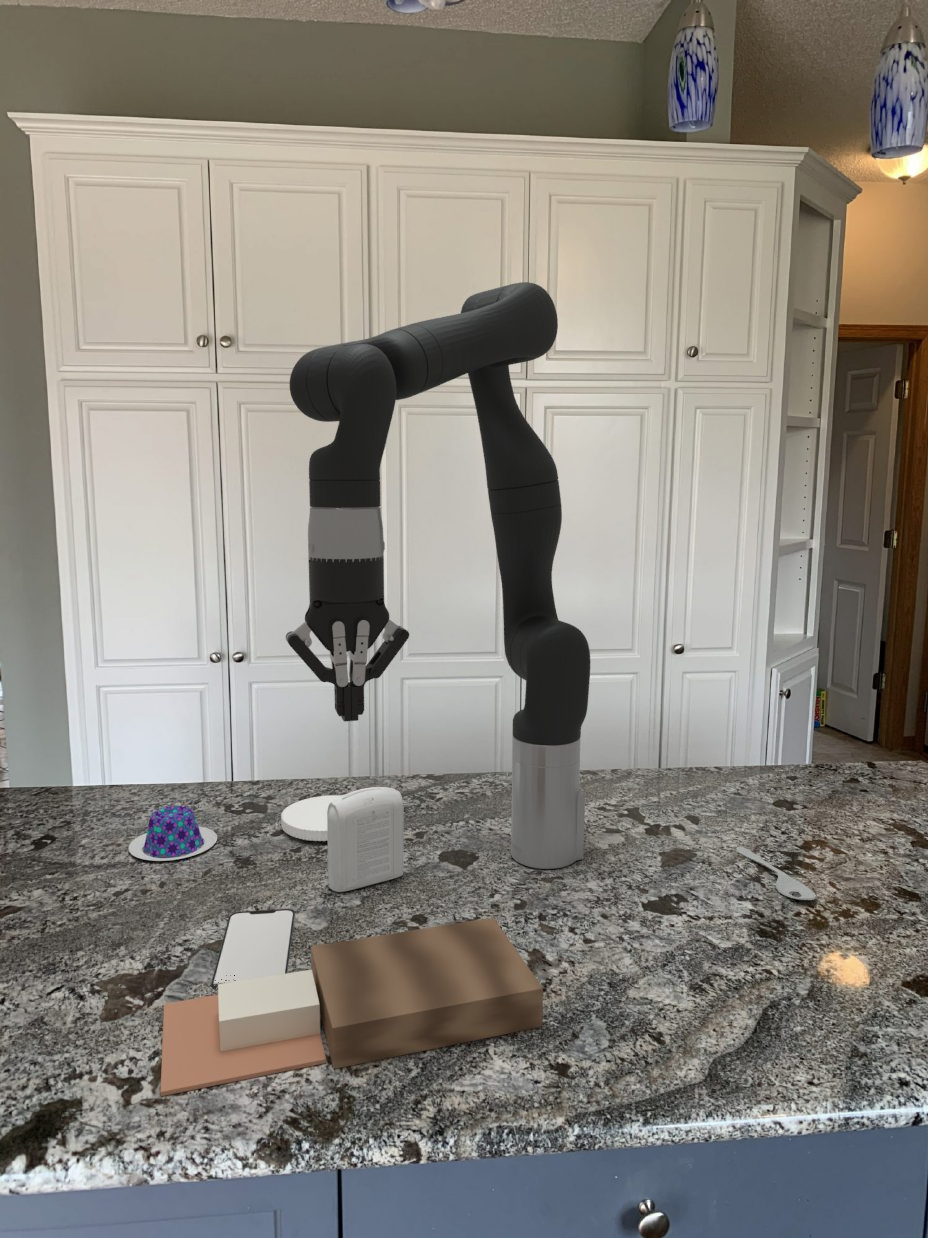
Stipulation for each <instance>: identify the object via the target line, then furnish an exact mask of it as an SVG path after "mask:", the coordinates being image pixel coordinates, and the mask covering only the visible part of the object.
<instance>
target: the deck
mask: <svg viewBox="0 0 928 1238" xmlns="http://www.w3.org/2000/svg"><path fill="white" fill-rule="evenodd" d="M310 966H311V967H310V970H312V973H313V977H314V982H315V986H316V991H317V995H318V1000H319V1004H320V1022H321V1025H322V1028H323V1031H324V1037H325V1040H326V1044H327V1048H328V1052H329V1057H330V1061H331V1064H332V1068H333V1070H336V1069H341V1068H346V1067H350V1066H357V1065H360V1064H365V1063H370V1062H376V1061H380V1060H386V1059H390V1058H395V1057H399V1056H404V1055H409V1054H415V1053H419V1052H424V1051H430V1050H434V1049H440V1048H444V1047H448V1046H449V1047H450V1046H453V1045H458V1044H459V1045H460V1044H464V1043H468V1042H473V1041H477V1040H484V1039H488V1038H493V1037H498V1036H502V1035H503V1036H504V1035H507V1034H513V1033H517V1032H522V1031H528V1030H533V1029H536V1028H537V1029H538V1028H543V1017H544V1016H543V1012H544V1011H543V1007H544V1005H543V1004H544V1002H543V1001H544V988H543V986H542V985H541V984H540V982H539V980H538V979H537V977H536V976H535V975H534V972H532V970H531V969H530V968H529V966H528V965H527V963H526V961H524V959H523V958H522V956H521V955H520V953H519V951H518V950H517V949H516V948H515V946H514V944H513V943H512V941H510V939H509V937H508V936H507V934H506V933H505V932H504V930H503V929H502V927H501V926H500V924H499V923H498V921H497V920H496V919H495V918H494V917H489V918H488V917H487V918H481V919H475V920H468V921H462V922H456V923H451V924H450V923H449V924H443V925H438V926H431V927H423V928H418V929H412V930H407V931H406V930H405V931H399V932H395V933H393V932H392V933H388V934H381V935H375V936H368V937H361V938H357V939H350V940H343V941H337V942H336V941H335V942H332V943H325V944H319V945H313V946H310Z"/></svg>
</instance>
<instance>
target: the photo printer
mask: <svg viewBox="0 0 928 1238" xmlns="http://www.w3.org/2000/svg"><path fill="white" fill-rule="evenodd" d="M404 811H405V810H404V800H403V797H402V794H401V792H400V791H399V790H396V788H392V787H389V786H387V787H386V786H374V787H366V788H361V789H356V790H354V791H350V792H348V793H345V794H343V795H342V796H341V797H339V798H337V799H335V800H334V801H332V802H331V803H330V804H329V806H328V810H327V833H328V841H327V878H328V879H327V880H328V887H329V889H330V890H332V891H333V892H336V893H343V892H348V891H352V890H356V889H361V888H364V887H367V886H368V887H369V886H372V885H375V884H379V883H382V882H383V883H384V882H386V881H390V880H393V879H396V878H397V879H398V878H399V877H402V876H403V875H404V866H405V865H404V860H405V858H404V852H405V851H404V848H405V847H404V846H405V845H404V842H405V841H404V840H405V838H404V837H405V836H404V826H405V825H404V822H405V821H404V820H405V819H404Z"/></svg>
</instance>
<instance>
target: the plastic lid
mask: <svg viewBox="0 0 928 1238" xmlns="http://www.w3.org/2000/svg"><path fill="white" fill-rule="evenodd" d="M341 796H343V795H341V794H340V795H338V794H337V795H334V794H333V795H320V796H313V797H308V798H305V799H302V800H298V801H296V802H293V803H291V804H290V805H288V806H287V807H285V808H284V809H283V810H282V812H281V815H280V819H281V821H280V823H281V829H282V830H283V832H284V833H286V834H287V835H289V836H291V837H292V838H295V839H300V840H303V841H310V842H311V841H313V842H317V841H318V842H321V841H322V842H326V841H327V842H328V833H327V810H328V806H329V804H330V803H331V802H332V801H334V800H335V799H337V798H339V797H341Z"/></svg>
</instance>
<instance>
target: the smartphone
mask: <svg viewBox="0 0 928 1238" xmlns="http://www.w3.org/2000/svg"><path fill="white" fill-rule="evenodd" d="M295 919H296V911H295V910H294V909H291V908H278V909H262V910H260V909H259V910H249V911H248V910H246V911H244V910H243V911H235V912H233V913H231V914H230V915H228V918H227V922H226V926H225V930H224V935H223V938H222V942H221V945H220V949H219V953H218V956H217V960H216V964H215V969H214V971H213V976H212V978H211V983H212V984H210V987H211V989H214V990H216V991H218V986H217V987H216V986H215V984H223V983H224V982H225V983H230V982H236V981H242V980H249V979H255V978H261V977H268V976H274V975H280V974H287V973H288V971H289V970H288V969H289V961H290V956H291V947H292V940H293V933H294V926H295ZM226 975H227V976H226ZM230 975H231V976H230ZM234 975H235V976H234ZM221 979H222V980H221ZM233 979H234V980H236V981H234V980H233ZM215 980H216V981H215ZM225 980H227V981H225ZM228 980H230V981H228ZM218 982H219V983H218ZM216 988H217V989H216Z"/></svg>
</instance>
